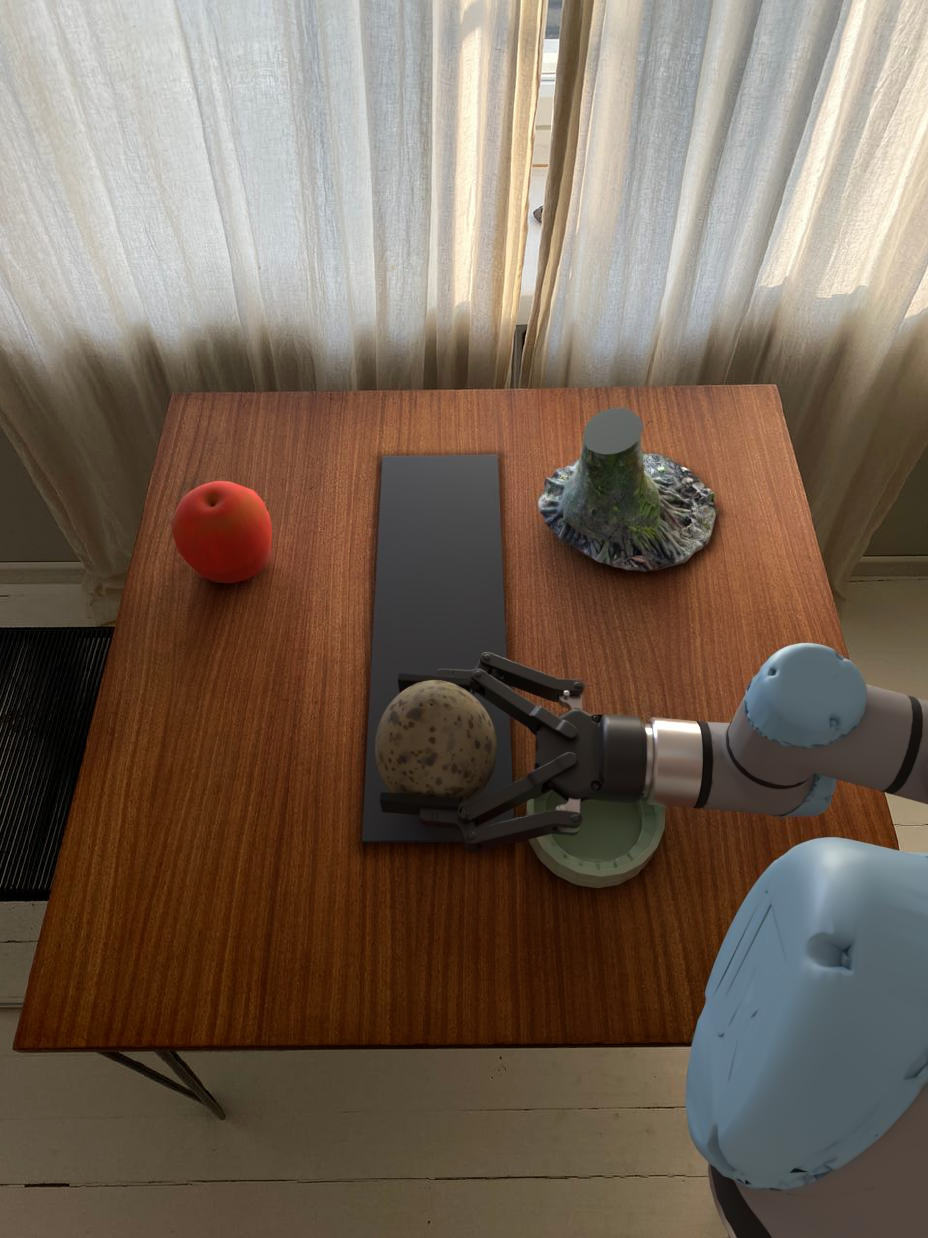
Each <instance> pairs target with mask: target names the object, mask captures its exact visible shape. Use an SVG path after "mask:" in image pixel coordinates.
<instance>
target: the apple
mask: <svg viewBox="0 0 928 1238" xmlns="http://www.w3.org/2000/svg"><path fill="white" fill-rule="evenodd" d="M271 521H272V520H271V517H270V514H269V512H268V509H267V507H266V504H265V502H264V501H263V499H262V498H261V497H260V496H259V495H258V493H257V492H255V490H253V489H251V488H249V487H245V486H243V485H241V484H238V483H236V482H232V481H227V480H226V481H225V480H214V481H211V482H208V483H203V484H201V485H199V486H198V487H196V488H194V489H192V490H190V491H189V492H188V493H187V494H185V496H184V497H183V498H181V500H180V502H179V503H178V505H177V507H176V509H175V511H174V514H173V516H172V518H171V521H170V527H171V531H172V537H173V540H174V543H175V545H176V548H177V551H178V553H179V555H180V556H181V557H182V558H183V560H184V561H185V562H186V563H187V564H188V566H190V567H191V568H192V570H194V571H195V572H196V573H197V574H198V575H199V576H200V577H202V578H203V579H205V580H208V581H210V582H214V583H220V584H221V583H222V584H234V583H238V582H244V581H246V580H248V579H250V578H252V577H254V576H256V575H257V574H259V573H260V572H261V571H262V569H263V568H264V567H265V565H266V564H267V563H268V562H269V558H270V555H271V552H272V548H273V547H272V545H273V529H272V522H271Z"/></svg>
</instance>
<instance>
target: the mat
mask: <svg viewBox="0 0 928 1238" xmlns="http://www.w3.org/2000/svg"><path fill="white" fill-rule="evenodd" d="M499 476H500V475H499V455H498V454H444V455H443V454H440V455H439V454H438V455H437V454H432V455H431V454H430V455H383V456H382V457H381V475H380V493H379V495H380V496H379V512H378V514H379V515H378V531H377V532H378V533H377V551H376V568H375V569H376V570H375V584H374V585H375V587H374V606H373V622H372V623H373V624H372V642H371V643H372V645H371V661H370V663H371V664H370V680H369V681H370V682H369V698H368V699H369V700H368V718H367V737H366V756H365V774H364V791H363V792H364V793H363V794H364V795H363V811H362V812H363V813H362V829H361V830H362V831H361V843H362V844H401V843H403V844H406V843H407V844H408V843H409V844H411V843H463V839H462V836H461V833H460V832H459V831H458V830H456V829H450V828H438V827H426V826H424V825H422V824H420V821H419V815H410V814H397V813H385V812H382V808H381V804H380V794H381V792H388V793H392V792H391V791H390V790H389V789H388V787H387V786H386V784H385V783H384V781H383V779H382V777H381V775H380V772H379V769H378V766H377V761H376V755H375V740H376V734H377V730H378V726H379V723H380V721H381V718H382V716H383V714H384V712H385V710H386V709H387V707H388V706H389V704H390V703H391V702H392V701H393V699H394V698H395V697H396V696H397V695H399V694H400V693H399V686H398V674H399V673H409V674H423V675H437V670H438V669H442V668H445V669H459V670H472V669H474V668H475V667H476V666H477V664H478V662H479V660H480V656H481V654H482V653H484V652H490V653H492V654H495V655H498V656H500V657H503V658H506V659H508V655H507V654H508V653H507V651H508V650H507V631H506V630H507V629H506V607H505V588H504V587H505V586H504V563H503V545H502V544H503V543H502V542H503V541H502V522H501V520H502V519H501V501H500V479H499ZM503 684H504V683H503ZM505 685H506V686H508V687H509V685H507V684H505ZM470 694H472V689H470ZM472 695H473V694H472ZM473 696H474V697H475V698H476V699H477V700H478V701H479V702H480V703H481V704H482V706H483V707H484V708H485V710H486V712H487V713H488V715H489V717H490V719H491V721H492V724H493V726H494V730H495V734H496V739H497V760H496V765H495V769H494V772H493V774H492V777H491V779H490V781H489V783H488V784H487V786H486V788H485V789H484V790H483V791H482V793H481V794H480V795H479V796H478V797H477V798H476V799H474V800H473V801H472V802H470V803H469V804H467V805H466V806H468V805H470V804H472V803H474V802H476V801H478V800H480V799H482V798H484V797H486V796H488V795H490V794H492V793H494V792H496V791H498V790H500V789H502V788H504V787H506V786H508V785H510V784H512V783H514V782H513V781H514V780H513V761H512V741H511V739H512V738H511V737H512V736H511V718H510V717H511V716H510V715H508V714H507V713H505V712H504V711H502V710H501V709H499V708H498V707H496V706H495V705H493V704H492V703H490V702H489V701H488V700H486V699H485V698H483V697H482V696H480V695H479V694H477V693H475V695H473ZM466 806H464V807H466ZM464 807H462V808H464ZM511 819H515V808H513V809H511V810H509V811H507V812H505V813H503V814H501V815H499V816H497V817H495V818H493V819H491V820H489V821H487V822H485V823H483V824H481V825H479V826H477V827H476V828H478V827H482V826H486V825H490V824H494V823H498V822H502V821H507V820H511Z"/></svg>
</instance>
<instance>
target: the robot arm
mask: <svg viewBox="0 0 928 1238" xmlns="http://www.w3.org/2000/svg"><path fill="white" fill-rule="evenodd" d="M430 680H439V681H446V682H450V683H453V684H455V685H457V686H459V687H461V688H463V689H465V690H466V691H468V692H469V693H470V689H472V694H473V695H475V693H477V694H479V695H480V696H482V697H483V698H485V699H486V700H488V701H489V702H490V703H492V704H493V705H495V706H496V707H498V708H499V709H501V710H502V711H504V712H505V713H507V714H508V715H510V717H511V718H513V719H514V720H515V721H517V722H519V723H520V724H522V726H525V727H526V728H527V729H528V730H529V732H530V733H531V734H532V735H534V736H535V747H534V748H535V753H536V754H535V758H534V767H533V770H531V771H530V772H529V773H528V774H526V775H525V776H523V777H522V778H520V779H518V780H515V781H514V782H513V783H512V784H510V785H508V786H506V787H504V788H502V789H500V790H498V791H496V792H494V793H492V794H490V795H488V796H486V797H484V798H482V799H480V800H478V801H476V802H474V803H472V804H470V805H468V806H466V807H464V808H462V805H461V806H460V807H459V799H458V798H450V797H438V796H425V795H413V794H400V793H388V792H381V794H380V804H381V808H382V812H385V813H397V814H410V815H419V821H420V824H422V825H424V826H426V827H438V828H450V829H456V830H458V831H459V832H460V833H461V836H462V839H463V842H462V843H463V848H464V851H465V852H466V853H469V854H474V853H479V852H484V851H487V850H492V849H496V848H499V847H502V846H504V847H505V846H508V845H511V844H512V845H513V844H516V843H521V842H524V841H527V840H528V841H529V839H533V838H537V837H541V836H545V835H549V834H560V835H569V836H575V835H577V834H578V833H579V830H580V827H581V823H582V816H581V814H580V803H581V802H583V801H586V800H591V799H592V800H598V801H607V802H619V803H632V804H635V803H636V801H637V802H638V801H639V800H640V798H641V797H643V799H644V800H645V802H646V803H647V804H648V805H659V806H665V807H675V808H684V809H685V808H687V809H697V810H700V809H703V810H714V811H725V812H735V813H745V814H746V813H747V814H754V815H755V814H756V815H767V816H772V817H774V818H781V819H782V818H783V819H784V818H788V817H792V818H793V817H795V818H796V817H805V818H806V817H807V818H808V817H809V818H810V817H817V816H819V815H822V814H824V813H825V811H826V810H827V809H828V808H829V807H830V806H831V804H832V798H833V797H832V796H833V794H834V793H835V792H836V787H837V781H842V782H845V783H849V784H853V785H857V786H861V787H864V788H868V789H872V790H875V791H878V792H882V793H885V794H888V795H893V796H895V797H899V798H903V799H906V800H910V801H914V802H917V803H921V804H924V805H928V700H926V699H922V698H918V697H915V696H912V695H908V694H905V693H901V692H898V691H894V690H890V689H886V688H882V687H878V686H874V685H871V684H867V683H866V680H865V678H864V675H863V674H862V672H861V671H860V669H859V668H858V666H857V665H856V664H855V663H854V661H852V660H850V659H847V658H846V657H845V656H843V655H841V654H840V653H838V651H837V650H836V649H834V648H832V647H830V646H828V645H823V644H820V643H814V642H800V643H799V642H798V643H795V644H790V645H789V644H788V645H787V646H784V647H782V648H781V649H779V650H777V651H776V652H774V653H773V654H772V655H771V656H770V657H769V658H768V659H766V661H765V662H764V663H763V664H762V665H761V667H760V668H759V670H758V671H757V673H756V674H755V675H754V676H753V677H752V679H751V680H750V681H749V683H748V684H747V687H746V689H745V692H744V695H743V698H742V700H741V702H740V704H739V706H738V707H737V710H736V711H735V714H734V716H733V717H732V719H731V721H730V722H718V721H716V722H715V721H703V720H689V719H678V718H668V717H667V718H666V717H658V716H657V717H656V716H651V717H650V718H649V719H647V721H646V723H645V722H644V720H643V719H642V718H641V717H640V716H638V715H630V714H629V715H627V714H614V713H600V714H593V713H590V712H588V711H586V710H584V709H583V695H584V690H585V683H584V681H582V680H581V679H574V678H573V679H572V678H560V677H556V676H553V675H551V674H549V673H546V672H543V671H540V670H538V669H535V668H532V667H530V666H527V665H524V664H521V663H519V662H516V661H514V660H511V659H508V658H507V659H506V658H503V657H500V656H498V655H495V654H492V653H490V652H484V653H482V654H481V656H480V660H479V662H478V664H477V666H476V667H475V668H474V669H472V670H459V669H445V668H442V669H438V670H437V675H423V674H409V673H399V674H398V686H399V693H401V692H402V691H404V690H405V689H407V688H408V687H410V686H412V685H414V684H417V683H420V682H423V681H430ZM503 683H504V684H503ZM505 684H507V685H508V686H506V685H505ZM509 686H510V687H509ZM511 687H513V688H515V689H518V690H520V691H524V692H526V693H528V694H530V695H533V696H536V697H539V698H541V699H544V700H546V701H549V702H553V703H557V704H559V706H560V707H562V708H563V709H567V710H566V711H565V712H563V713H562V714H559V715H556V714H554V713H553V712H552V711H550V710H549V709H547V708H545V707H544V706H542V705H537V704H536V703H533V702H532V701H530V700H529V699H528V698H527V697H525V696H523V695H521V694H520V693H518V692H517V691H516V690H514V689H513V688H511ZM552 790H553V791H554V792H556V793H557V794H558V795H559V796H561V797H562V798H563V799H565V800H566V801H567V803H566V804H563V805H559V806H558V807H557V808H556V810H549V811H544V812H540V813H536V814H532V815H527V816H525V815H524V816H519V817H514V819H511V820H507V821H502V822H498V823H494V824H490V825H486V826H482V827H478V828H476V827H477V826H479V825H481V824H483V823H485V822H487V821H489V820H491V819H493V818H495V817H497V816H499V815H501V814H503V813H505V812H507V811H509V810H511V809H513V808H514V809H515V808H517V807H519V806H521V805H523V804H525V803H527V801H528V800H530V799H536V798H538V797H540V796H542V795H544V794H546V793H548V792H550V791H552ZM712 966H713V967H712V968H711V972H710V974H709V978H708V979H707V984H706V987H705V992H704V998H705V1003H704V1007H703V1009H702V1011H701V1013H700V1015H699V1018H698V1019H697V1022H696V1025H695V1029H694V1032H693V1035H692V1041H691V1046H690V1051H689V1058H688V1064H687V1071H686V1072H687V1073H686V1085H685V1112H686V1122H687V1128H688V1132H689V1136H690V1139H691V1141H692V1143H693V1145H694V1147H695V1149H696V1150H697V1151H698V1153H699V1154H700V1156H701V1157H702V1158H703V1159H704V1160H705V1161H706V1162H707V1163H708V1164H707V1173H708V1182H709V1188H710V1191H711V1194H712V1198H713V1202H714V1206H715V1208H716V1210H717V1213H718V1216H719V1218H720V1221H721V1223H722V1225H723V1227H724V1229H725V1231H726V1232H727V1236H726V1237H727V1238H928V852H917V851H909V852H908V851H907V852H906V851H903V850H898V849H894V848H889V847H885V846H881V845H876V844H872V843H869V842H862V841H858V840H854V839H850V838H844V837H838V836H837V837H835V836H831V837H830V836H828V837H818V838H813V839H809V840H807V841H804V842H801V843H799V844H797V845H794V846H793V847H791V848H790V849H789V850H788V851H786V852H785V853H784V854H783V855H781V856H779V857H778V858H777V859H775V860H774V861H773V862H771V863H770V865H768V866H767V868H766V869H765V870H764V872H763V873H762V874H761V875H760V876H759V877H758V879H757V880H756V882H755V883H754V884H753V886H752V888H751V889H750V890H749V892H748V894H747V895H746V896H745V898H744V899H743V901H742V903H741V905H740V907H739V908H738V910H737V912H736V914H735V916H734V918H733V920H732V922H731V924H730V925H729V928H728V930H727V932H726V934H725V937H724V938H723V941H722V943H721V946H720V949H719V951H718V954H717V955H716V959H715V961H714V964H713V965H712Z"/></svg>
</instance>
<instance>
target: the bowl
mask: <svg viewBox="0 0 928 1238" xmlns="http://www.w3.org/2000/svg"><path fill="white" fill-rule="evenodd" d="M566 803H567V801H566V800H565V799H563V798H562V797H561V796H559V795H558V794H557V793H556V792H554V791H553V790H552V791H550V792H548V793H546V794H544V795H542V796H540V797H538V798H536V799H530V800H528V801H527V802H526V807H525V808H526V809H525V814H524V816H527V815H532V814H536V813H540V812H544V811H549V810H556V808H557V807H558V806H559V805H563V804H566ZM580 814H581V816H582V823H581V827H580V830H579V833H578V834H577V835H575V836H569V835H560V834H549V835H545V836H541V837H537V838H533V839H529V840H528V842H529V844H530V846H531V849H532V850H533V852H534V853H535V855H536V856H537V859H538V860H539V862H541V863H542V864H543V865H544V866H545V867H546V868H548V869H549V871H551V872H552V873H553V874H554V875H555V876H557V877H559V878H561V879H563V880H565V881H567V882H569V883H571V884H573V885H575V886H580V887H587V888H594V889H601V888H607V887H614V886H618V885H621V884H622V883H625V882H626V881H628V880H630V879H632V878H633V877H636V876H637V875H638V874H640V872H641V871H642V870H643V869H644V868H645V867H646V865H647V864H648V863H650V862H651V859H652V858H653V856H654V854H655V852H656V850H657V849H658V847H659V844H660V841H661V839H662V837H663V834H664V831H665V828H666V806H659V805H648V804H647V803H646V802H645V800H644V799H643V797H641V798H640V800H639V801H638V802H637V801H636V803H635V804H632V803H619V802H607V801H598V800H592V799H591V800H586V801H583V802H581V803H580Z"/></svg>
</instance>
